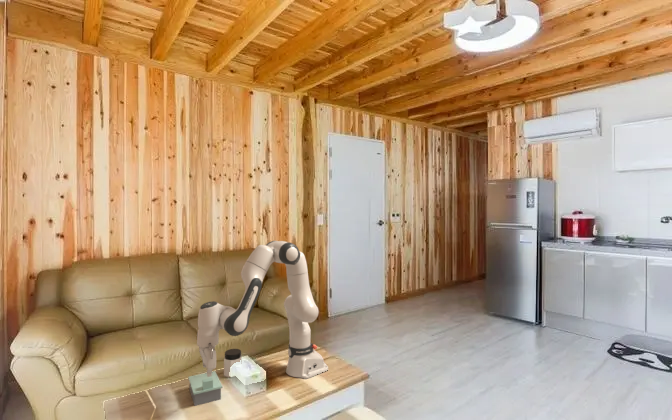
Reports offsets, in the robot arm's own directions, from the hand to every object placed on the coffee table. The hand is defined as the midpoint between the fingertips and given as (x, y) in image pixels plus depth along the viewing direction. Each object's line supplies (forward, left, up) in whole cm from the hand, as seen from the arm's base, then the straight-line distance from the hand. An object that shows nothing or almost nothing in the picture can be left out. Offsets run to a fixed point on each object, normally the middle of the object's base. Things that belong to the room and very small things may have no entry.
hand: (207, 371), depth 155 cm
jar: (-16, -21, -15) cm, 30 cm away
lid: (0, -7, -8) cm, 11 cm away
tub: (0, -7, -14) cm, 16 cm away
